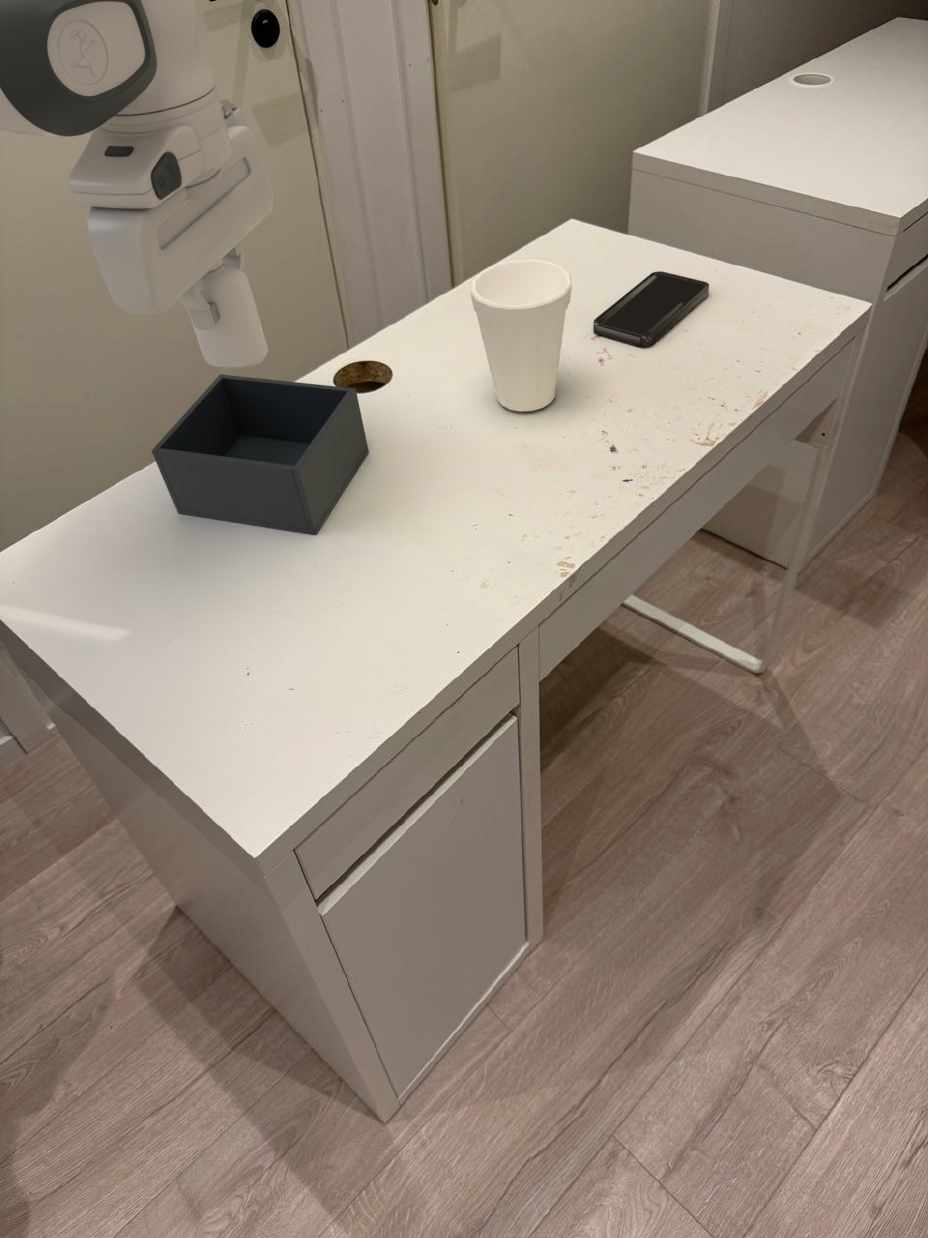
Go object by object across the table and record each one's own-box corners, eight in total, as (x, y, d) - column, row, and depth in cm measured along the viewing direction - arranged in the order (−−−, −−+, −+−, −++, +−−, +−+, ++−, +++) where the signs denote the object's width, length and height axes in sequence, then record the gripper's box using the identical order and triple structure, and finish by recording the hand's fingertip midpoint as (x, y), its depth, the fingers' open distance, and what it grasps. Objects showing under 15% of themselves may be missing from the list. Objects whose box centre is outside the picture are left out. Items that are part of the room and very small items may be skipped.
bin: (177, 513, 87) (150, 450, 82) (240, 435, 96) (220, 373, 90) (316, 535, 83) (297, 470, 78) (369, 452, 91) (355, 387, 86)
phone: (589, 323, 103) (655, 269, 110) (589, 332, 103) (655, 278, 111) (649, 340, 99) (713, 283, 106) (648, 349, 100) (712, 292, 107)
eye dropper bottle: (235, 340, 82) (194, 207, 73) (276, 356, 79) (239, 220, 70) (199, 362, 79) (152, 228, 71) (240, 379, 77) (197, 242, 68)
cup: (590, 387, 96) (591, 270, 86) (540, 435, 91) (535, 316, 81) (513, 364, 100) (507, 251, 91) (461, 408, 95) (449, 293, 86)
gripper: (201, 90, 73) (246, 254, 83) (51, 191, 60) (126, 370, 70) (268, 91, 72) (306, 258, 82) (129, 194, 59) (194, 378, 69)
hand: (221, 311), depth 76 cm, fingers closed on eye dropper bottle, 3 cm apart
